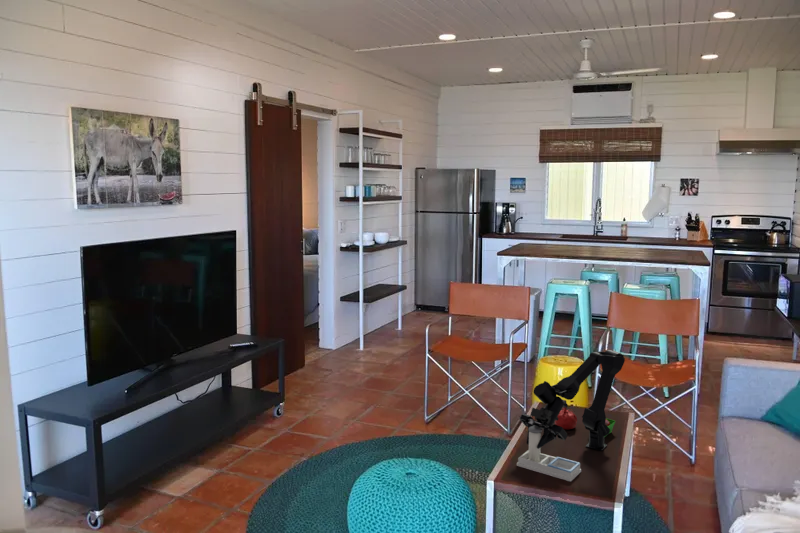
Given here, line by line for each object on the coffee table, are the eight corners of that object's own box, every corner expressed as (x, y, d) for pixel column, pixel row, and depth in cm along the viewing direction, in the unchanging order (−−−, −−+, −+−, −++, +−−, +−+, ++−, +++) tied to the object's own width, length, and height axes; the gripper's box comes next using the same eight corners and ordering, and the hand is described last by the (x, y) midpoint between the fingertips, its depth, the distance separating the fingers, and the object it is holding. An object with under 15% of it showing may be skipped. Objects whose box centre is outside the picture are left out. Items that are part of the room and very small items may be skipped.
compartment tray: (528, 456, 244) (528, 448, 244) (581, 471, 232) (581, 462, 231) (516, 465, 237) (517, 456, 236) (570, 481, 224) (571, 472, 224)
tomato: (560, 433, 268) (560, 412, 267) (549, 424, 278) (549, 403, 276) (581, 430, 270) (582, 409, 269) (570, 421, 280) (570, 401, 279)
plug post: (531, 457, 241) (532, 425, 239) (542, 461, 238) (543, 428, 236) (525, 462, 237) (526, 429, 235) (537, 465, 234) (538, 432, 232)
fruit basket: (604, 440, 260) (606, 414, 258) (584, 435, 266) (585, 409, 264) (615, 432, 268) (616, 406, 267) (595, 427, 274) (596, 401, 273)
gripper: (523, 393, 244) (503, 427, 238) (563, 406, 230) (543, 443, 224) (535, 408, 250) (516, 442, 245) (575, 421, 236) (556, 458, 230)
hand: (532, 446), depth 236 cm, fingers closed on plug post, 4 cm apart
